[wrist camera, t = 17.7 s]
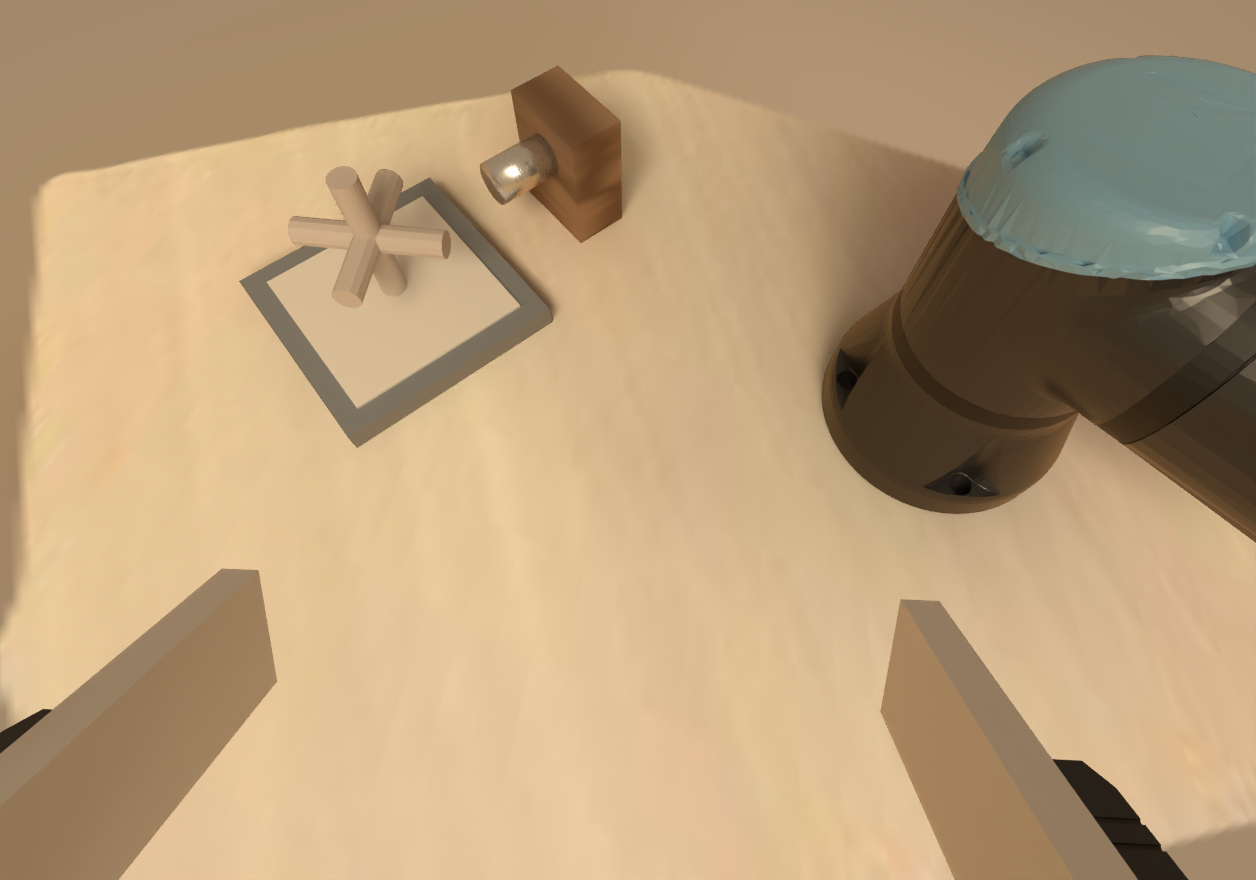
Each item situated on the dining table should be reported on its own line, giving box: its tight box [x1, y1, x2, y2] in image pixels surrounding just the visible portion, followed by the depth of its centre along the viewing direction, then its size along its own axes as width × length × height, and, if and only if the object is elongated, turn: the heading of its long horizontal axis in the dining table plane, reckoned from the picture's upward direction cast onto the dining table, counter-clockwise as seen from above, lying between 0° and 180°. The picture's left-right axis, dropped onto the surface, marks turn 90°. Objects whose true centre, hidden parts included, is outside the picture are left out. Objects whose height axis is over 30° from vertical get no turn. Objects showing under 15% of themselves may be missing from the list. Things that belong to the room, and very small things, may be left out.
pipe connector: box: [288, 166, 451, 308], centre depth 44 cm, size 10×10×10 cm
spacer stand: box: [239, 66, 622, 447], centre depth 47 cm, size 26×16×9 cm, turn 129°
